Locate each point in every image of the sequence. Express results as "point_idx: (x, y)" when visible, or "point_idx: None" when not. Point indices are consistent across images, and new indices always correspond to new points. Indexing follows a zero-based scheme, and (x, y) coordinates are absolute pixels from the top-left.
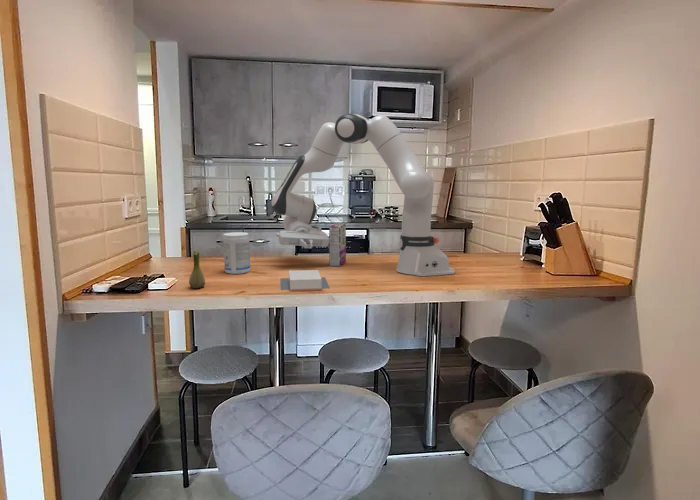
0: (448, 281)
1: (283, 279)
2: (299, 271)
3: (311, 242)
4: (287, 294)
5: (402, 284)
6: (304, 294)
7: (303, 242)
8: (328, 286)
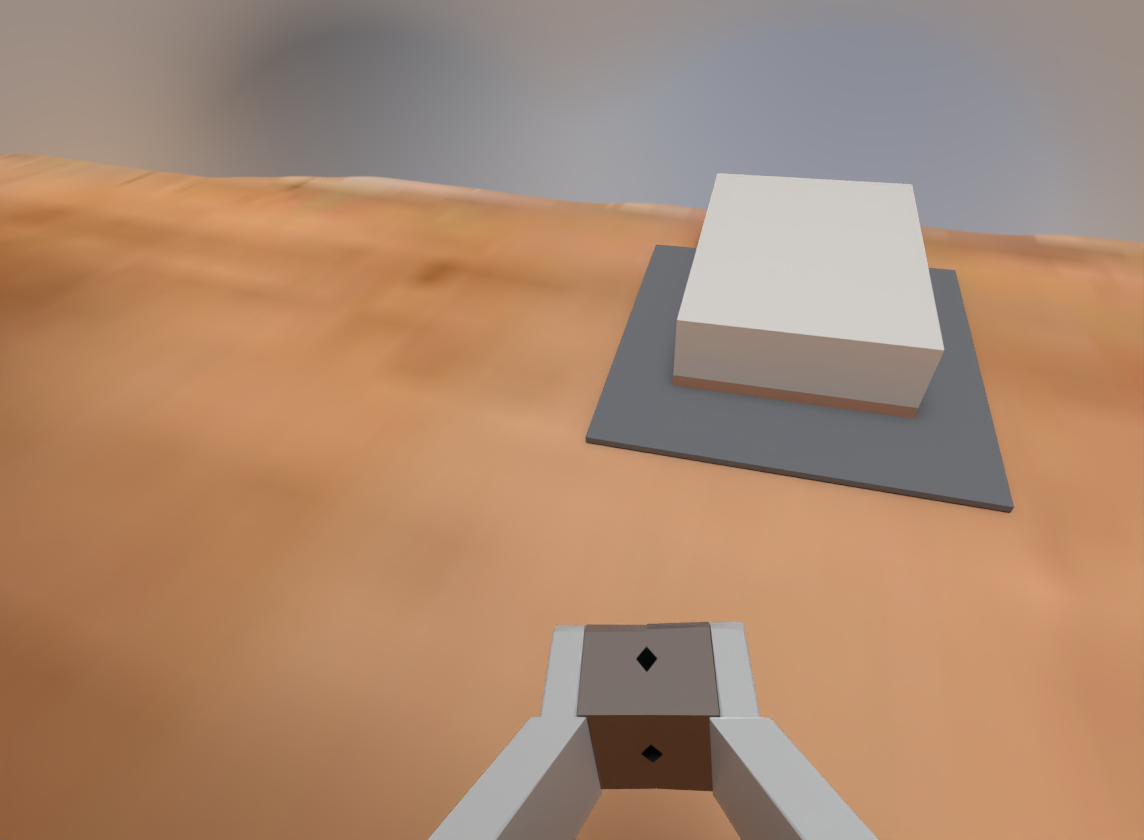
0: (17, 243)
1: (972, 464)
2: (842, 313)
3: (527, 735)
4: None
5: (254, 246)
6: None
7: (783, 733)
8: (652, 267)
